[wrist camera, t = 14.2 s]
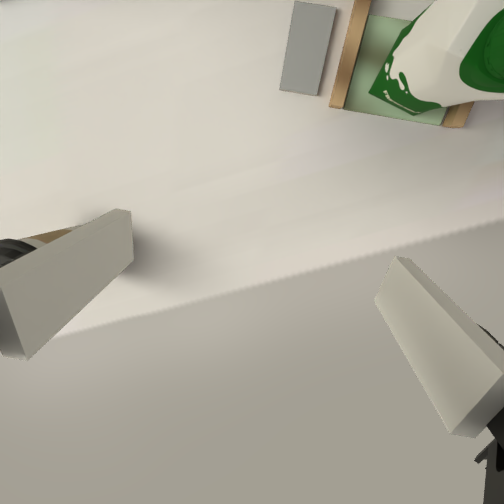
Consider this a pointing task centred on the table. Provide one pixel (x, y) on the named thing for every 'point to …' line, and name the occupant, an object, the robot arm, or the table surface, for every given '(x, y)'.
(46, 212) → the table surface
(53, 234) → the coffee cup
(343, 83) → the lane
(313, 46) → the broken strip
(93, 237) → the robot arm
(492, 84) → the soya milk
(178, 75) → the table surface
